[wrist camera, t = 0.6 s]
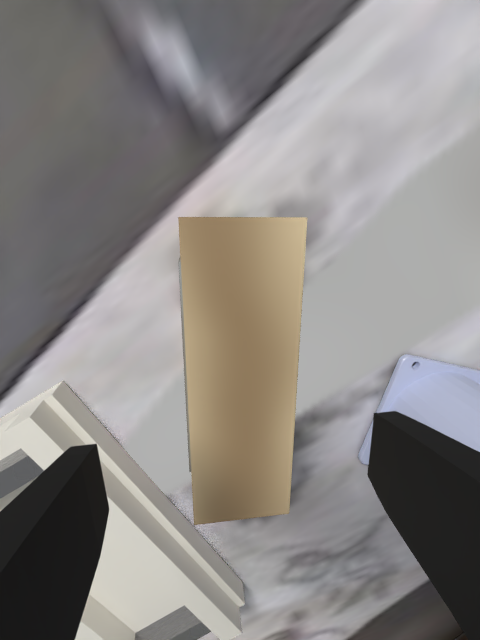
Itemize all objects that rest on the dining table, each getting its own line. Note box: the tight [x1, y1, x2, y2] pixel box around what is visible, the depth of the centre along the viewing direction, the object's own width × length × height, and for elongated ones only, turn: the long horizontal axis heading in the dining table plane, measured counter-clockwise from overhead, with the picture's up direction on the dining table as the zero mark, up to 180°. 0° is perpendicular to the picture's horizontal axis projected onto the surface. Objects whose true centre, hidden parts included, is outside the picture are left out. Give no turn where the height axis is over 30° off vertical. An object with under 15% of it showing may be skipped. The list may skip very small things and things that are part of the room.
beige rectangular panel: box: [178, 217, 307, 525], centre depth 15 cm, size 4×12×7 cm, turn 179°
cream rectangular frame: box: [0, 381, 245, 640], centre depth 20 cm, size 20×9×3 cm, turn 30°
